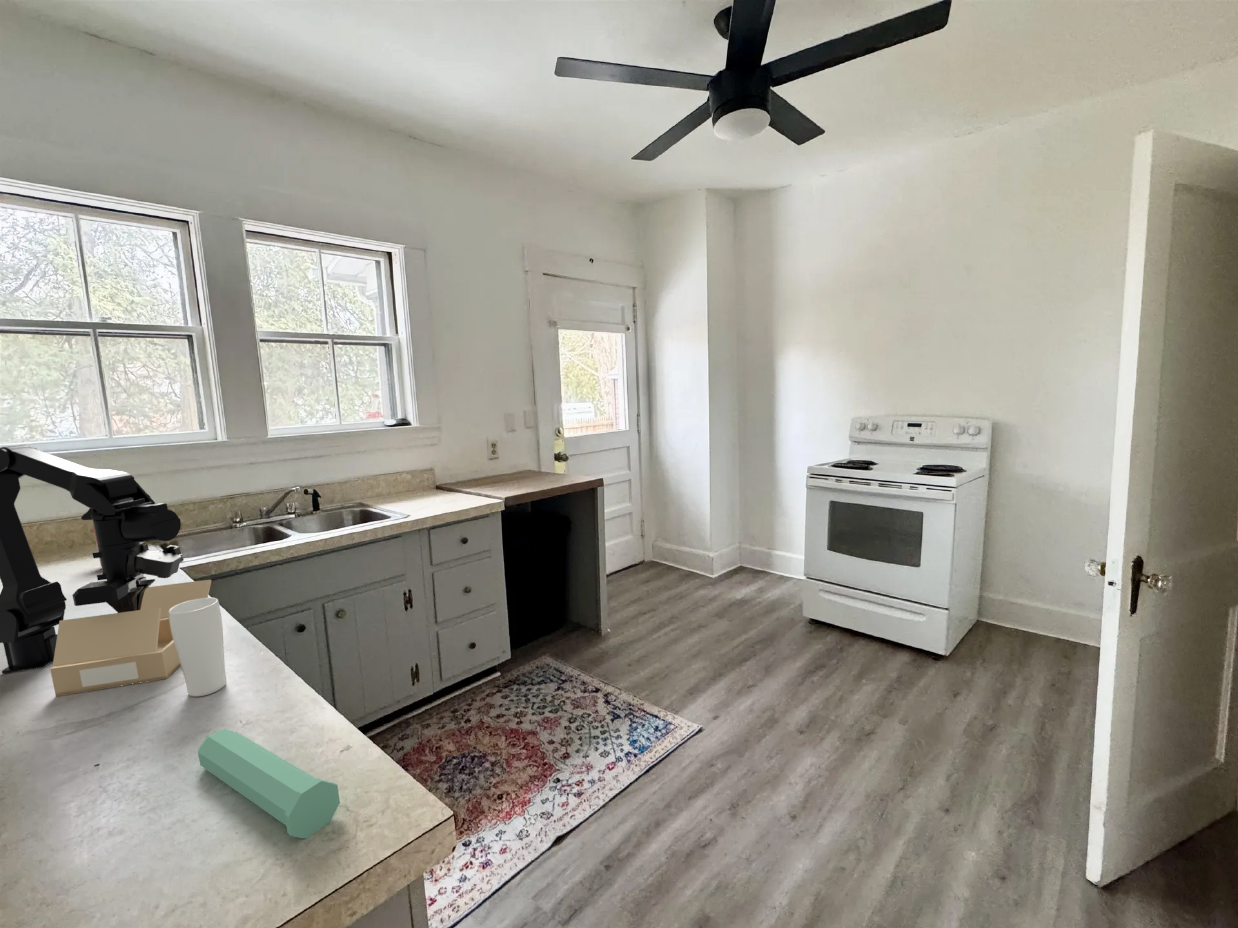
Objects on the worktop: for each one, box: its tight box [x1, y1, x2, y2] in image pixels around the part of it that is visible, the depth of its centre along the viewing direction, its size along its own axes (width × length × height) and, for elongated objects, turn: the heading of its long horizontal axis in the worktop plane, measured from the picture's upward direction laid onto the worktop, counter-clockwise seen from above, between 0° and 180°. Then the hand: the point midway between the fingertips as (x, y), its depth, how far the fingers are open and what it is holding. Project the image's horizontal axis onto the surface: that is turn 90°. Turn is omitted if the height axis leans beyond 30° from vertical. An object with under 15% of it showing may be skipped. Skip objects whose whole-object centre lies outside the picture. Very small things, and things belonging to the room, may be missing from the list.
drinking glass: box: [168, 597, 227, 698], centre depth 92 cm, size 7×7×15 cm
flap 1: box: [52, 608, 161, 667], centre depth 96 cm, size 15×8×1 cm
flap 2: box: [140, 579, 212, 619], centre depth 115 cm, size 15×8×1 cm
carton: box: [49, 618, 181, 697], centre depth 104 cm, size 16×18×5 cm
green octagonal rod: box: [197, 728, 341, 840], centre depth 68 cm, size 6×6×25 cm
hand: (133, 622), depth 103 cm, fingers closed
